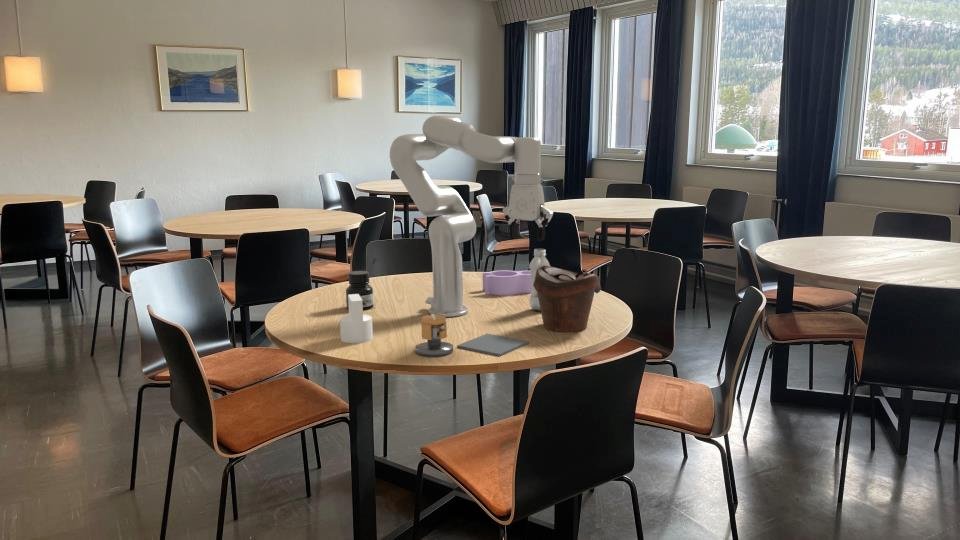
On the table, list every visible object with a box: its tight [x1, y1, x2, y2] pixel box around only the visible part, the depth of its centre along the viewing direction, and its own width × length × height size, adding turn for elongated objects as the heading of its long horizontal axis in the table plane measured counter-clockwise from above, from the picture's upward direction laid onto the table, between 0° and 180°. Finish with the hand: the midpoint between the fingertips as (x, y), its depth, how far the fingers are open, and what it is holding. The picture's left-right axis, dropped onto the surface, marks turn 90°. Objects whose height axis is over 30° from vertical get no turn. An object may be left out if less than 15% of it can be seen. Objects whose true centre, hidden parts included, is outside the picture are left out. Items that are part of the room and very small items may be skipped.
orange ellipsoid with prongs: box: [420, 314, 448, 341], centre depth 187 cm, size 6×6×6 cm
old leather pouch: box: [533, 265, 602, 333], centre depth 209 cm, size 18×20×18 cm
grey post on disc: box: [415, 324, 454, 358], centre depth 187 cm, size 10×10×8 cm
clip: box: [482, 270, 532, 296], centre depth 259 cm, size 20×12×7 cm, turn 98°
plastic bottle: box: [529, 248, 551, 312], centre depth 229 cm, size 6×7×20 cm
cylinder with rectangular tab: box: [339, 294, 374, 344], centre depth 199 cm, size 9×9×12 cm
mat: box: [456, 333, 530, 357], centre depth 192 cm, size 14×14×1 cm
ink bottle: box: [345, 270, 374, 311], centre depth 236 cm, size 10×9×12 cm
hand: (527, 239), depth 208 cm, fingers open, 9 cm apart
